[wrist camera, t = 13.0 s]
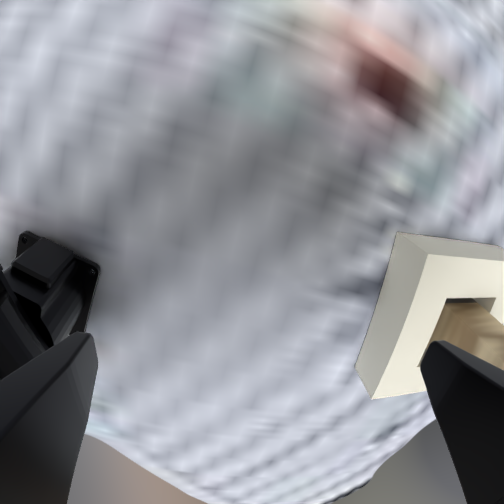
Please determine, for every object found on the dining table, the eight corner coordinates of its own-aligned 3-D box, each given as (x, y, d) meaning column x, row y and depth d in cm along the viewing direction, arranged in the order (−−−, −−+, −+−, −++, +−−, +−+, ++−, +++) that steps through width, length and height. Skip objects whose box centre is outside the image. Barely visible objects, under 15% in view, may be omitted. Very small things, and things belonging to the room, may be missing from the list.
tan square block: (408, 326, 25) (493, 439, 13) (423, 284, 23) (529, 391, 11) (441, 325, 25) (525, 422, 13) (457, 285, 24) (556, 377, 12)
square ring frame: (354, 366, 25) (371, 399, 22) (396, 232, 21) (428, 254, 17) (453, 355, 27) (474, 379, 23) (498, 245, 23) (527, 263, 19)
